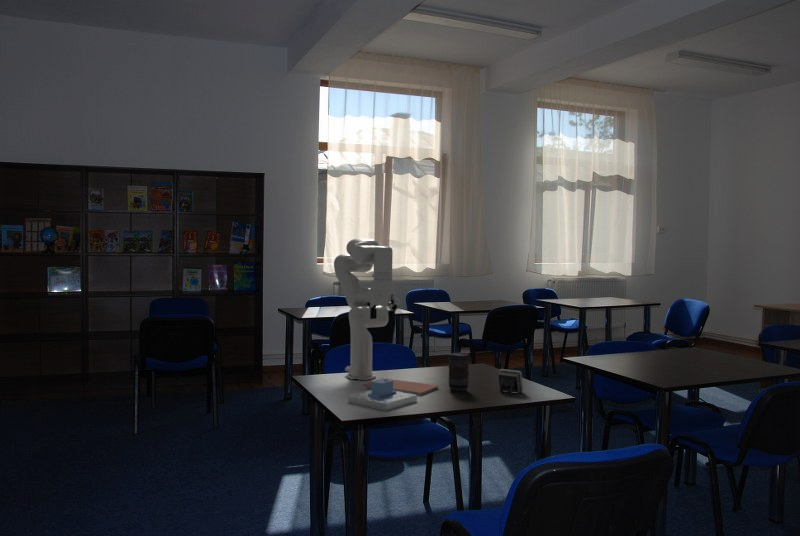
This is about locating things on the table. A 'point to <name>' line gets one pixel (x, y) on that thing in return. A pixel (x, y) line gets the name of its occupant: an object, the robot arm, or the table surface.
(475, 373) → the table surface
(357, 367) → the robot arm
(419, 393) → the notebook
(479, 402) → the table surface
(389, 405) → the plate
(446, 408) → the table surface
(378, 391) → the servo
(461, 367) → the camera lens
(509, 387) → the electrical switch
